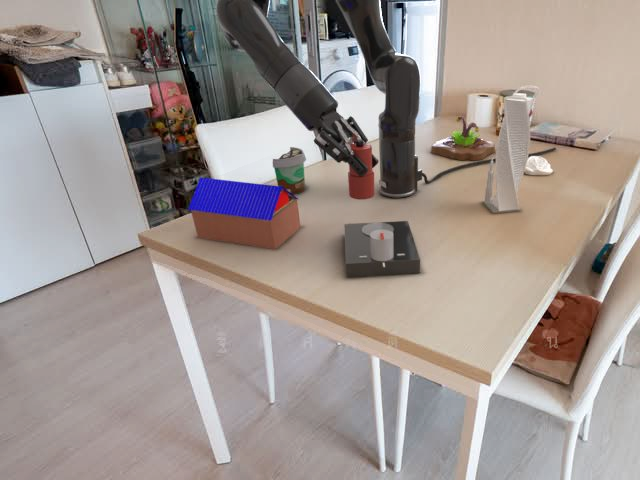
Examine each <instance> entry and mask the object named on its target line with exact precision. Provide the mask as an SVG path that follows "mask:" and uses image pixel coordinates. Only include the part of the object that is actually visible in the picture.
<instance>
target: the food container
mask: <svg viewBox="0 0 640 480" xmlns="http://www.w3.org/2000/svg"><path fill="white" fill-rule="evenodd" d="M306 161H307V158H306V155H305V152H304V151H303V149H301V148H299V147H294V146H290V147H289V151H288V152H286V153H283V154H281V155H280V157H278V158H272V168H274V169H273V170H274V174H275V178H276V183H277V186H281V187H283V188H285V189H286V190H287V191H289V192H290V193H291V194H292V195H294V196H295V195H297V194H301V193H302V192H304V191H306V181H305V180H306V179H305V162H306Z"/></svg>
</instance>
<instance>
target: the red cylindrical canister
mask: <svg viewBox="0 0 640 480" xmlns="http://www.w3.org/2000/svg"><path fill="white" fill-rule="evenodd" d="M350 146H351V148H352V149H353V151H354V153H355V154H357V156H358V157H359V158H360V159H361V160H362V161H363V162H364V163H365V165H366V166H367V167H368V168H369V171H368V172H367V173H366V174H365V175H364V176H362V177H360V176H359V175H358V174H357V173H356V172H355V171H354V170H353V168H352V167H351V166H350V165H349V164H348V170H349V171H348V172H347V181H348V195H349V198H351V199H354V200H368V199H372V198H373V197H374V196H375V194H376V193H375V172H374V171H373V168H372V154H373V147H372V144H369V143H367V142H366V143H363V140H356V143H355V144H354V143H353V144H351V145H350ZM355 154H354V155H355Z"/></svg>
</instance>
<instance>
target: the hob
mask: <svg viewBox="0 0 640 480" xmlns="http://www.w3.org/2000/svg"><path fill="white" fill-rule="evenodd" d="M371 223H372V222H359V223H344V224H343V225H344V226H343V227H344V229H343V230H344V254H345V256H344V258H345V272H346V274H345V275H346V278H348V279H349V278H362V277H363V278H364V277H377V276H378V277H379V276H396V275H411V274H420V273H421V257H420V255H419V252H418V248H417V245H416V242H415V239H414V235H413V232H412V229H411V226H410V223H409V221H408V220H399V221H381V222H380V221H379V222H375V223H386V224H389V225H391V226H392V227H393V228H394V231H393V236H394V257H393V258H392V259H390V260H388V261H376V260H373V259H372V258H371V251H370V236H367V235H365V234H363V233H362V228H363V227H364V226H365V225H367V224H371Z"/></svg>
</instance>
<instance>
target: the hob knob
mask: <svg viewBox="0 0 640 480" xmlns="http://www.w3.org/2000/svg"><path fill="white" fill-rule="evenodd" d="M370 251H371V258H372V259H373V260H376V261H388V260H390V259H392V258H393V257H394V236H393V232H391V231H389V230H383V229H381V230H375V231H373V232H371V233H370Z"/></svg>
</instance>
